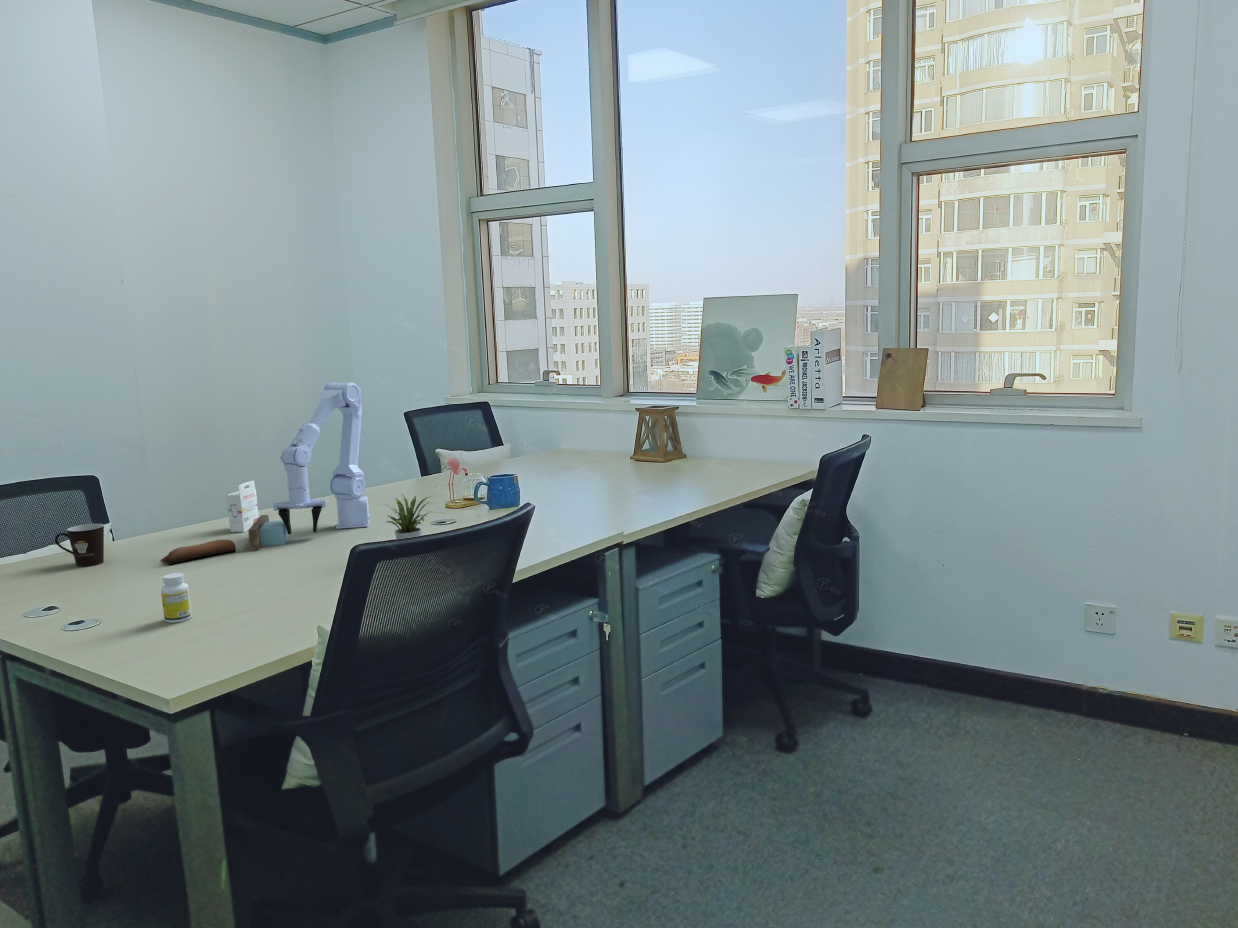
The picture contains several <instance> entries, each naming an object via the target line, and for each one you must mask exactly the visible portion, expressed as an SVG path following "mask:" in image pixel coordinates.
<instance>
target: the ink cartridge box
mask: <svg viewBox="0 0 1238 928" xmlns="http://www.w3.org/2000/svg"><path fill="white" fill-rule="evenodd" d="M248 486H249V487H248ZM245 487H247V488H245ZM237 488H238V491H234V492H231V493H229V494H226V496H225V498H226V505H227V511H228V521H229V522H228V523H229V530H230V533H246V532H248V531H247V530H249V529H250V528H251V526H252V525H253V524H254V523H255V522H256V521H257V519H258V518H259V517H260V516H259V507H258V497H257V489H256V484H255V480H249V481H247V482H243V483H241V484H238V485H237ZM245 531H246V532H245Z"/></svg>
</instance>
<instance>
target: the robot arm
mask: <svg viewBox="0 0 1238 928" xmlns="http://www.w3.org/2000/svg"><path fill="white" fill-rule="evenodd" d="M320 397H321V399H320V400H319V402H318V404H317V406H316V408H315V410H314V412H313V413H312V415H311V417H310V419H309V421H308V423H305V424H302V425H301V426H299V428H298V432H297V434H296V435H295V436H294V438H293V439H292V441H291V442H290V445H287V446H286V447H284V448H283V450H282V452H281V455H280V456H279V457H280V461H281V463H282V464H283V465H284V470H285V471H286V479H287V489H288V501H281V502H274V503H273V504H272V509H273V511H277V513H278V515H279V517H280V519H281V521H283V522H284V524H285V526H286V529H287V532H288V536H289V535H291V534H292V525H291V514H290V512H291V511H290V510H297V509H298V510H301V509H311V515H312V517H311V518H312V530H313V531H312V532H313V533H315V534H316V533H317V531H318V523H319V518H320V514H321V512H322V509H323V508H327V499H311V497H310V496H311V495H310V494H311V493H310V485H309V483H310V482H309V474H308V464H309V463H310V462H311V459H312V452H313V448H314V447H315V444H316V443H317V441H318V439H319V438H320V436H321V431H320V429H321V427H322V426H323V424H324V423H325V422H326V420H327V419H328V418H329V416H330V414H331V413H332V412H333V411H334V410H335V409H338V410H339V412H341V414H342V424H341V426H342V427H341V439H340V452H339V465H338V466H336V468H335V469H334V470H333V471H332V477H331V480H330V482H329V491H330V492H331V493H332V494H333V496H334V498H335V499H336V510H337V511H336V512H337V525H336V527H335V529H336V530H338V529H355V528H367V527H369V525H370V521H371V515H370V508H369V507H370V506H369V498H368V496H363V494H364V493H365V492H366V481H365V473H364V471H363V470H361V468H359V458H360V457H359V454H360V443H361V442H360V441H361V429H362V417H363V415H362V414H363V407H362V403H361V402H362V390H361V388H360V387H359V386H358V385H357V383H355V382H334V381H333V382H331V381H330V382H327V383H326V384H325V385H324V387H323V389H322V390H321V392H320Z"/></svg>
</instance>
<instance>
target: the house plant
mask: <svg viewBox="0 0 1238 928" xmlns="http://www.w3.org/2000/svg"><path fill="white" fill-rule="evenodd" d="M400 495H401V496H402V498H403V501H404V504H403V503H402V502H401V501H400V500H399V498H397V497H394V499H395V502H396V505H397V507H398V510H397V508H395V507H394V506H392V507H393V508H392V507H390V506H389V505H388V504H385V503H383V502H382V504H383V505H385V506H387V507H388V508H389V509H390V510H392V511H393V513H394V514H395V515H396V516H397V517H398V518H396V517H394V516H392V515H386V516H387V517H388V518H390V519H391V520H392V521H391V520H386V521H385V523H388V524H393V525H394V526H396V527H397V528H398V529H395V530H394V535H395V539H396V540H397V539H401V538H409V537H417V536H421V537H422V528H420V527H418V525H422V522H423V523H424V521H425V518H424V517H427V515H428V514H429V513H431V511H428V512H427V513H424V514H420V513H421V511H422V510H423V509H424V507H425V506H426V505H428V504H431V503H432V502H433V501H432V502H431V501H429V502H425V501H426V500H427V499H430V498H432V497H433V495H431V496H426V497H424V498H422V499H421V501H419V502H418V504H417V505H416V502H417V499H416V498H417V495H414V496H413V497H412V500H411V501H410V504H409V502H408V500H407V498H406V496H405V495H403V494H402V493H400ZM424 503H425V504H424ZM422 504H423V505H422ZM421 505H422V506H421ZM415 506H416V507H415ZM420 506H421V507H420ZM419 508H420V509H419ZM417 511H418V513H417ZM416 513H417V515H416ZM415 515H416V516H415ZM419 517H420V519H418V518H419ZM421 521H422V522H421Z"/></svg>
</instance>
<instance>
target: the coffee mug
mask: <svg viewBox="0 0 1238 928" xmlns="http://www.w3.org/2000/svg"><path fill="white" fill-rule="evenodd" d="M66 531H67V533H66V532H61V533H58V534H56V535H55V537H54V543H55V544H56V545H57V547H59V548H61V550H63V551H66V552H68V553H70V554H71V555H73V558H74V561H75V565H76V567H80V568H88V567H93V566H99V565H101V564H104V557H105V555H104V551H105V549H104V548H105V547H104V546H105V543H104V541H105V539H104V537H105V525H104V524H103V523H88V524H86V523H85V524H80V525H75V526H72V527H71V526H70V527H69V528H67V529H66ZM60 536H65V537H66V538H68V540H69V542H70V547H71V550H70V549H68V548H66V547H64V546H62V544H61V543H59V541H58V539H59V537H60Z"/></svg>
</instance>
